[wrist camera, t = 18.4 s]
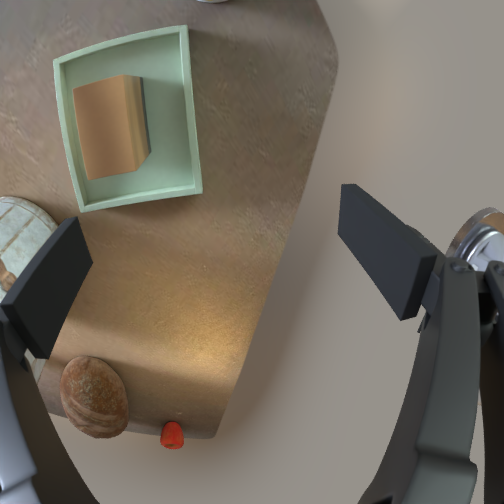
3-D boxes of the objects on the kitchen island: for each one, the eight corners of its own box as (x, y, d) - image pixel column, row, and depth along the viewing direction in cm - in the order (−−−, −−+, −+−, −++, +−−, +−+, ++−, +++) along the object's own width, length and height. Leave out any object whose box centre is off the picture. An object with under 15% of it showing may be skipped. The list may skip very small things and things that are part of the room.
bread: (77, 408, 59) (71, 443, 50) (56, 343, 45) (40, 389, 36) (131, 420, 63) (129, 456, 54) (129, 360, 50) (122, 410, 40)
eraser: (142, 76, 26) (123, 74, 19) (151, 151, 30) (136, 171, 24) (101, 86, 25) (71, 88, 18) (111, 159, 30) (87, 180, 23)
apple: (157, 419, 64) (156, 444, 58) (179, 418, 64) (179, 443, 58) (165, 428, 67) (165, 451, 61) (185, 427, 68) (186, 450, 61)
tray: (188, 28, 24) (186, 24, 22) (202, 186, 35) (202, 193, 33) (61, 60, 23) (53, 59, 21) (87, 205, 33) (81, 213, 31)
